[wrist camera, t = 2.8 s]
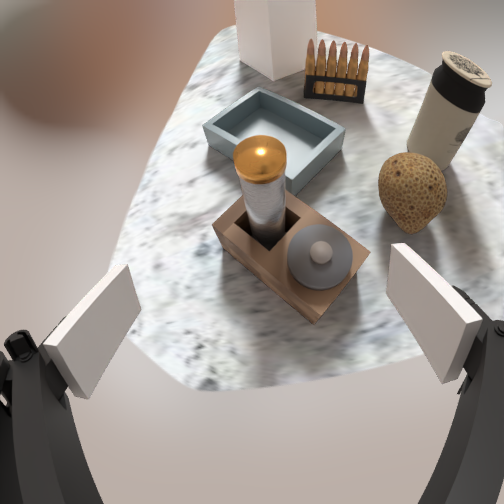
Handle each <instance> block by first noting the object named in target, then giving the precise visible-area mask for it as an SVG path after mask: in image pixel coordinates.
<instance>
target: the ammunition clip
mask: <svg viewBox="0 0 504 504" xmlns="http://www.w3.org/2000/svg"><path fill="white" fill-rule="evenodd" d="M336 53H337V49H336V43H335V41H332V43H331V46H330V50H329V56H328V60H327V68H326V48H325V43H324V40H323V39H322V40H321V42H320V44H319V48H318V57H317V61H315V49H314V43H313V40H312V39H310V40H309V43H308V47H307V57H306V61H305V84H304V98H311V99H325V100H336V101H346V102H354V103H362V104H363V102H364V95H365V88H366V78H367V73H368V62H369V47H368V45H366V46H365V48H364V50H363V53H362V57H361V61H360V64H359V68H358V45H357V44H356V43H355V45H354V46H353V48H352V52H351V57H350V61H349V64H348V70H347V44H346V42H344V43H343V44H342V47H341V50H340V56H339V60H338V64H337V60H336ZM315 63H316V71H315ZM336 68H337V73H336ZM357 70H358V74H357ZM346 72H347V74H346ZM314 86H315V88H314ZM324 87H325V89H324ZM334 87H335V90H334ZM344 87H345V90H344ZM354 88H355V90H354Z"/></svg>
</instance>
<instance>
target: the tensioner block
mask: <svg viewBox="0 0 504 504" xmlns="http://www.w3.org/2000/svg"><path fill="white" fill-rule="evenodd" d="M212 226H213V228H214V231H215V233H216V235H217V237H218V239H219V241H220V243H221V245H222V247H223V248H224V249H225V250H226V251H227V252H228V253H230V254H231V255H232V256H233V257H234V258H235V259H236V260H238V261H239V262H240V263H241V264H242V265H244V266H245V267H246V268H247V269H248V270H249V271H251V272H252V273H253V274H254V275H255V276H256V277H258V278H259V279H260V280H261V281H262V282H263V283H265V284H266V285H267V286H268V287H269V288H271V289H272V290H273V291H274V292H275V293H276V294H278V295H279V296H280V297H281V298H282V299H284V300H285V301H286V302H287V303H288V304H290V305H291V306H292V307H293V308H294V309H295V310H297V311H298V312H299V313H300V314H301V315H303V316H304V317H305V318H306V319H307V320H309V321H310V322H311V323H312V324H313V325H314V324H315V323H316V322H317V321H318V319H319V318H320V317H321V316H322V315H323V313H324V312H325V311H326V310H327V309H328V307H329V306H330V305H331V304H332V302H333V301H334V300H335V299H336V297H337V296H338V295H339V294H340V292H341V291H342V290H343V289H344V287H345V286H346V285H347V283H348V282H349V281H350V280H351V278H352V277H353V276H354V274H355V273H356V272H357V270H358V269H359V268H360V266H361V265H362V263H363V262H364V261H365V259H366V258H367V257H368V255H369V254H370V251H369V250H367V249H366V248H365V247H363V246H362V245H361V244H360V243H358V242H357V241H356V240H354V239H353V238H352V237H350V236H349V235H348V234H346V233H345V232H344V231H342V230H341V229H340V228H338V227H337V226H336V225H334V224H333V223H332V222H330V221H329V220H328V219H326V218H325V217H323V216H322V215H321V214H319V213H318V212H317V211H315V210H314V209H312V208H311V207H310V206H308V205H307V204H305V203H304V202H302V201H301V200H300V199H298V198H297V197H295V196H294V195H292V194H291V193H289V192H288V191H287V190H285V232H286V234H285V235H284V237H283V238H282V239H281V240H280V241H279V242H278V243H277V244H276V245H275V246H274V247H273V248H272V249H271V250H270V251H268V250H267V249H266V248H265V247H263V246H262V245H261V244H260V243H258V242H257V241H256V240H255V239H253V238H252V237H251V236H252V232H251V227H250V223H249V219H248V214H247V210H246V206H245V201H244V197H243V195H242V196H241V197H240V198H239V199H238V200H237V201H236V202H235V203H234V204H233V205H232V206H231V207H230V208H229V209H228V210H227V211H225V212H224V213H223V214H222V215H221V216H220V217H219V218H218V219H217V220H216V221H215V222H214V223H213V224H212Z"/></svg>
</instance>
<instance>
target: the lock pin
mask: <svg viewBox="0 0 504 504" xmlns="http://www.w3.org/2000/svg"><path fill="white" fill-rule="evenodd" d="M233 160H234V164H235V168H236V172H237V174H238V175H239V180H240V184H241V188H242V193H243V197H244V201H245V206H246V210H247V214H248V219H249V223H250V227H251V232H252V236H253V239H255V240H256V241H257V242H258V243H260V244H261V245H262V246H263V247H265V248H266V249H267V250H268V251H270V250H271V249H272V248H273V247H274V246H275V245H276V244H277V243H278V242H279V241H280V240H281V239H282V238H283V237H284V235H285V170H286V165H287V153H286V148H285V146H284V145H283V143H282V142H281V141H279V140H278V139H276V138H274V137H271V136H267V135H256V136H251V137H248V138H246V139H244V140H242V141H241V142H240V143H239V144H238V145H237V146H236V148H235V149H234V152H233Z"/></svg>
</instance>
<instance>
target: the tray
mask: <svg viewBox="0 0 504 504" xmlns="http://www.w3.org/2000/svg"><path fill="white" fill-rule="evenodd" d="M202 126H203V129H204V132H205V136H206V139H207V142H208V145H209V146H211V147H212V148H214V149H216V150H217V151H219V152H220V153H222V154H224V155H225V156H227V157H228V158H230V159H231V160H233V152H234V149H235V148H236V146H237V145H238V144H239V143H240V142H241V141H242V140H244V139H246V138H248V137H251V136H256V135H267V136H271V137H274V138H276V139H278V140H279V141H281V142H282V143H283V145H284V146H285V148H286V153H287V165H286V170H285V190H287V191H288V192H289V193H291V194H292V195H294V196H296V195H297V194H298V193H299V192H300V191H301V189H302V188H303V187H304V186H305V185H306V184H307V183H308V182H309V181H310V180H311V179H312V178H313V177H314V176H315V175H316V174H317V173H318V172H319V171H320V170H321V169H322V168H323V167H324V166H325V165H326V164H327V163H328V162H329V161H330V160H331V159H332V158H333V157H334V156H335V155H336V154H337V153H338V152H339V151H340V150H341V149H342V145H343V140H344V135H345V130H346V128H344V127H342V126H340V125H339V124H337V123H335V122H333V121H331V120H329V119H328V118H326V117H324V116H322V115H320V114H318V113H316V112H314V111H312V110H310V109H308V108H306V107H304V106H302V105H300V104H298V103H296V102H294V101H291V100H289V99H287V98H285V97H283V96H280V95H278V94H276V93H274V92H271V91H269V90H267V89H264V88H262V87H259V86H258V87H257V88H255V89H254V90H252V91H250V92H249V93H247V94H246V95H244V96H243V97H241V98H240V99H238V100H237V101H236V102H234V103H233V104H231V105H230V106H228V107H227V108H225V109H224V110H223V111H221V112H220V113H218V114H217V115H216V116H214V117H213V118H212V119H210V120H209V121H208V122H206V123H205V124H204V125H202ZM233 161H234V160H233Z"/></svg>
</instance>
